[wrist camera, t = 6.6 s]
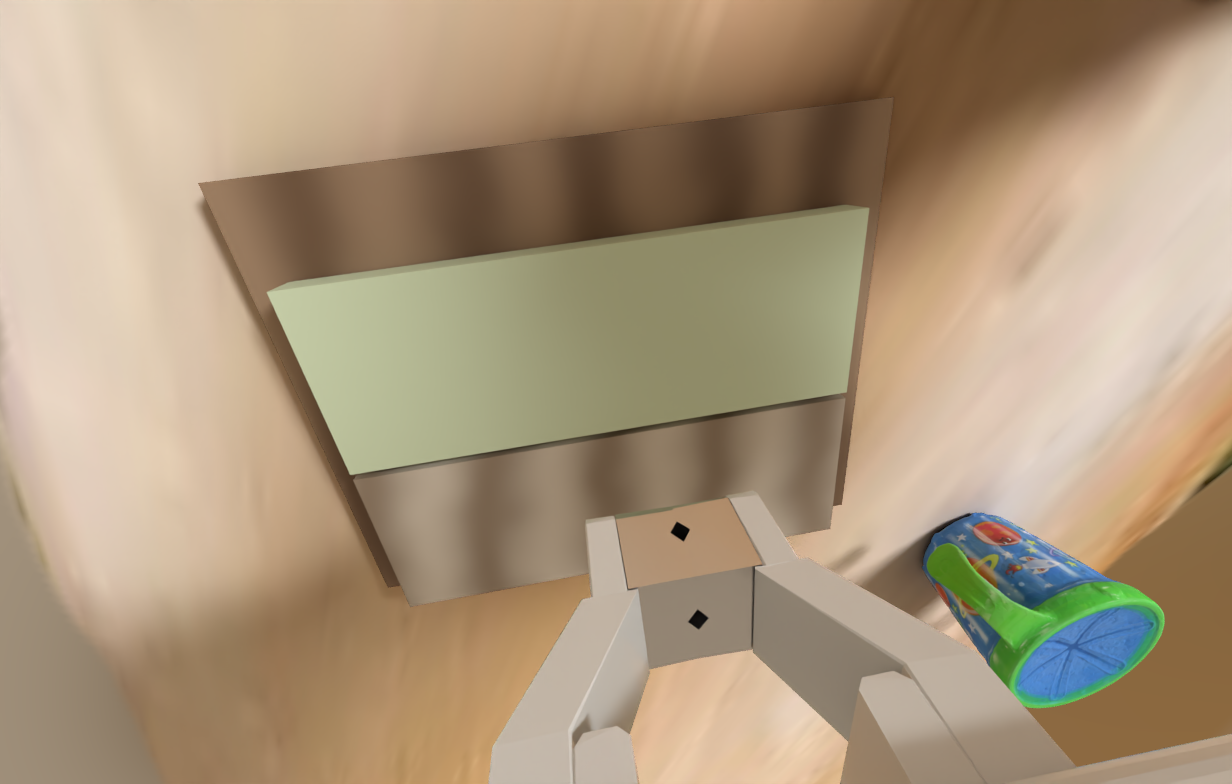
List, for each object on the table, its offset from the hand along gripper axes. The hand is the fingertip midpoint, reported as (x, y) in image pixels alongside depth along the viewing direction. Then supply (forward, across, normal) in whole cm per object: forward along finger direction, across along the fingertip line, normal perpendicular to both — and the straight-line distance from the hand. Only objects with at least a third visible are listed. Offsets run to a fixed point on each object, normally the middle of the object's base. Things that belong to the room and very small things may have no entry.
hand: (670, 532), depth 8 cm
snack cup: (+20, -28, +26) cm, 43 cm away
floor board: (+19, 0, +5) cm, 20 cm away
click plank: (+18, 0, +2) cm, 18 cm away
